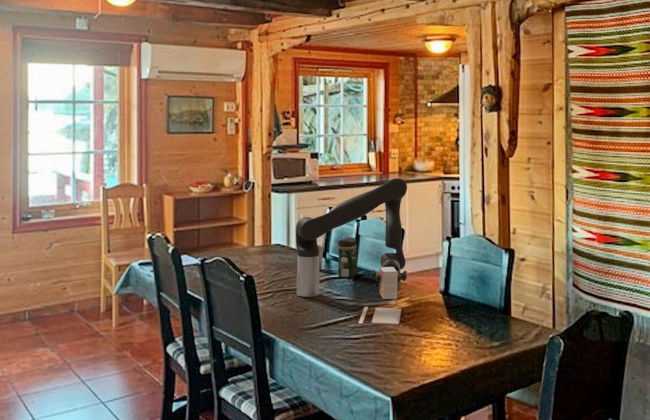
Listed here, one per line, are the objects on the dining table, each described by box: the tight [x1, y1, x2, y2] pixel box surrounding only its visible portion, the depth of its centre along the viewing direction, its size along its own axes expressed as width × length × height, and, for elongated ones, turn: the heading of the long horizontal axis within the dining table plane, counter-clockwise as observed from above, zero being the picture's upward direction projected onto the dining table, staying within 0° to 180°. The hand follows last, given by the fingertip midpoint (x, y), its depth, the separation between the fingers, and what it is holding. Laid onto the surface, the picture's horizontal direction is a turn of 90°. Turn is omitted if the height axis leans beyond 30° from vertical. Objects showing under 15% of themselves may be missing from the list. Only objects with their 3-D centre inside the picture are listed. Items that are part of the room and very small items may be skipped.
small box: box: [379, 266, 398, 300], centre depth 259 cm, size 8×6×10 cm
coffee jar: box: [337, 237, 358, 279], centre depth 327 cm, size 10×8×19 cm
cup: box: [317, 244, 325, 271], centre depth 341 cm, size 7×7×12 cm
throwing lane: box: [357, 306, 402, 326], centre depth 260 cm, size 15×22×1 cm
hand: (387, 280), depth 257 cm, fingers closed on small box, 6 cm apart
